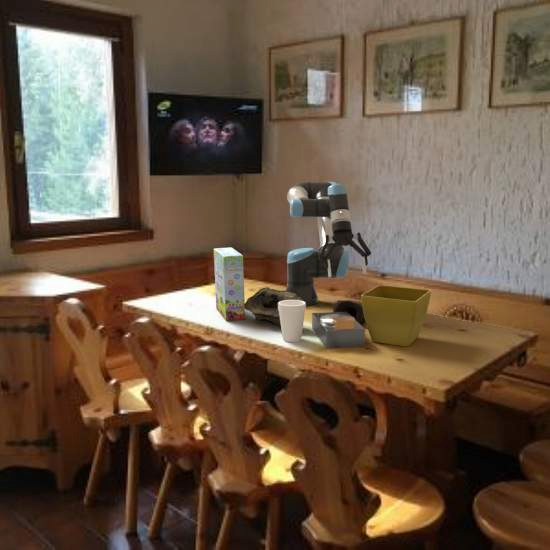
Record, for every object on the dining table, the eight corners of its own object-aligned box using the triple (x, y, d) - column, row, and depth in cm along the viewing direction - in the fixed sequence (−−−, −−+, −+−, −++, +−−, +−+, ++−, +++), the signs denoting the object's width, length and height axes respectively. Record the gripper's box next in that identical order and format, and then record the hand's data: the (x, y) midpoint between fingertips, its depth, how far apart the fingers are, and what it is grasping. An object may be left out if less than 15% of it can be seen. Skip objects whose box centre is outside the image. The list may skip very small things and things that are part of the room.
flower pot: (414, 351, 199) (416, 301, 196) (358, 343, 208) (359, 294, 205) (429, 336, 215) (431, 289, 212) (378, 329, 224) (379, 284, 221)
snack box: (214, 308, 257) (212, 247, 252) (234, 307, 260) (233, 246, 255) (224, 321, 237) (222, 255, 232) (246, 319, 239) (245, 254, 234)
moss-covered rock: (300, 344, 223) (323, 311, 227) (279, 324, 216) (303, 291, 220) (257, 325, 246) (279, 295, 249) (238, 307, 239) (260, 276, 242)
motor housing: (312, 328, 226) (312, 305, 224) (346, 327, 227) (346, 303, 226) (326, 348, 202) (326, 322, 201) (364, 346, 204) (365, 320, 202)
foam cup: (273, 340, 211) (272, 303, 209) (287, 334, 219) (287, 298, 217) (296, 345, 206) (296, 307, 204) (310, 338, 214) (310, 301, 211)
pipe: (342, 295, 246) (326, 296, 233) (377, 302, 239) (363, 303, 226) (338, 319, 247) (322, 321, 234) (373, 326, 239) (359, 329, 226)
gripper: (310, 222, 237) (316, 275, 233) (374, 217, 239) (381, 270, 234) (308, 228, 245) (314, 279, 240) (370, 223, 246) (377, 274, 242)
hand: (347, 275), depth 237 cm, fingers open, 13 cm apart
